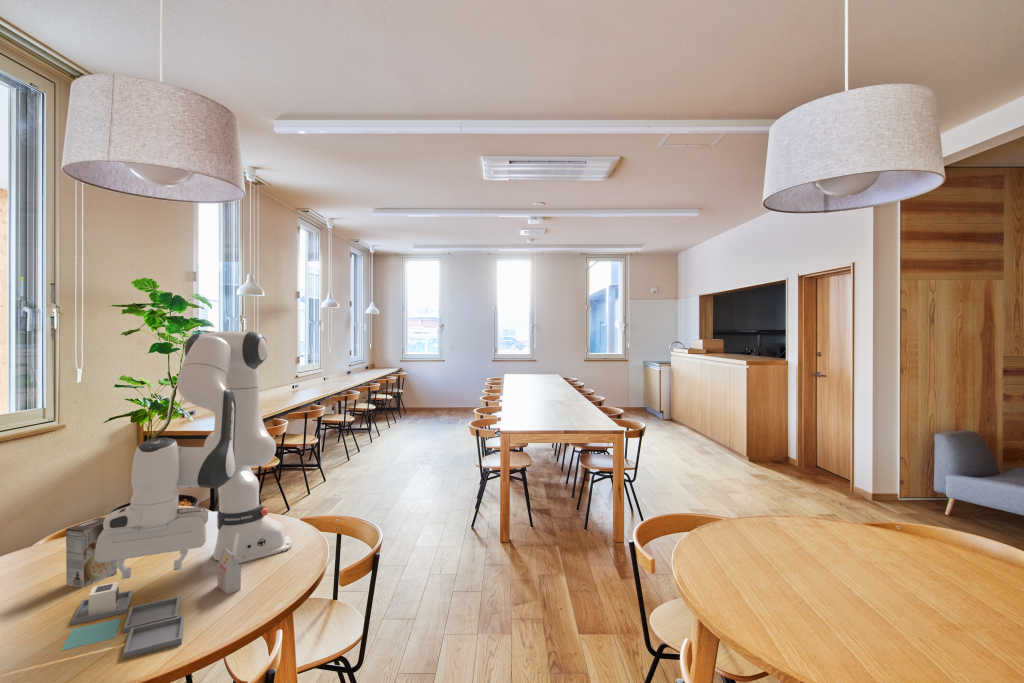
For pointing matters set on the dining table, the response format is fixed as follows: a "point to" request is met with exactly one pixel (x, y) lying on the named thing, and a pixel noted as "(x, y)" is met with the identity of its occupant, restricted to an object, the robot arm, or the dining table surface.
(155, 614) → the dish
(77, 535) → the coffee box
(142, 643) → the dish
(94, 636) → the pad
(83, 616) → the dish
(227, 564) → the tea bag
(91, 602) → the white cube
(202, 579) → the dining table surface
